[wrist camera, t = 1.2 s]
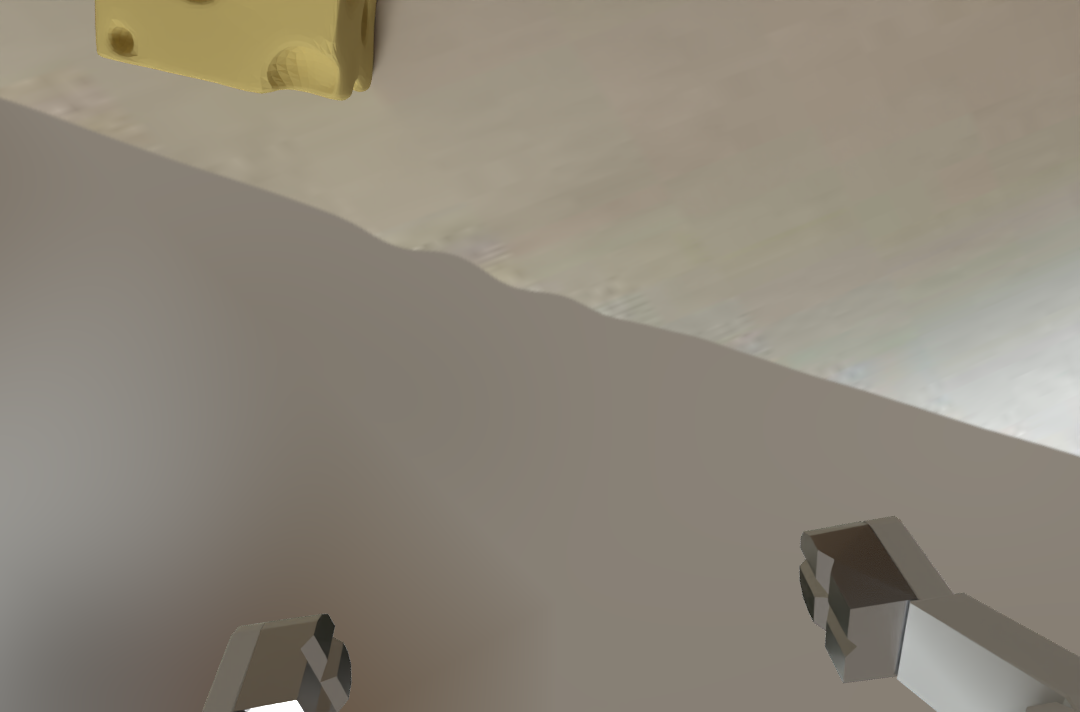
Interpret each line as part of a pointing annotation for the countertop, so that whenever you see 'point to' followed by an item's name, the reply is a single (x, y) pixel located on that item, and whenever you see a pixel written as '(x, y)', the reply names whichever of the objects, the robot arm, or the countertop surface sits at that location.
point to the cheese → (246, 41)
